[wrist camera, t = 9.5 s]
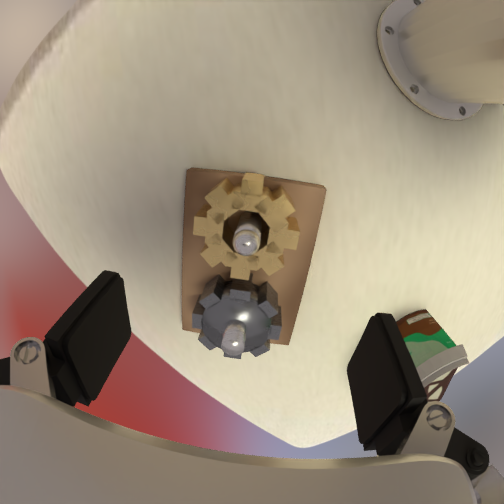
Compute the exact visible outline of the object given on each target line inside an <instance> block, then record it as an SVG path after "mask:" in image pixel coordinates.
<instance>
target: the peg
mask: <svg viewBox="0 0 504 504" xmlns="http://www.w3.org/2000/svg"><path fill="white" fill-rule="evenodd" d="M261 227H262V218H261V216H260V214H259V213H258V212H252V211H245V212H243V213H242V214H241V216H240V219H239V222H238V225H237V228H236V231H235V234H234V238H233V247H234V249H235V251H236V252H237V253H238V254H240V255H242V256H251V255H253V254H255V253H256V252H257V251H258V249H259V247H260V240H261Z"/></svg>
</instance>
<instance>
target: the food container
mask: <svg viewBox="0 0 504 504" xmlns="http://www.w3.org/2000/svg"><path fill="white" fill-rule="evenodd" d="M396 324H397V326H398V328H399V330H400V332H401V335H402V337H403V339H404V341H405V344H406V346H407V348H408V350H409V353H410V355H411V357H412V360H413V362H414V364H415V367H416V369H417V372H418V374H419V377H420V379H421V382H422V384H423V387H424V389H425V392H426V395H427V398H426V399H427V401H428V403H429V402H432V401H440V400H441V398H442V397H443V395H444V393H445V391H446V389H447V387H448V385H449V383H450V381H451V379H452V377H453V375H454V373H455V372H456V370H457V368H458V367H460V366H462V365H465V364H469V362H468V360H467V354H466V351H465V349H464V347H463V344H462V345H458V346H456V344H455V343H454V342H453V341H452V339H451V338H450V337H449V336H448V335H447V333H446V332H445V331H444V330H443V329H442V327H441V326H440V325H439V324H438V323H437V322H436V320H435V319H434V318H433V317H432V316H431V315H430V314H429V312H428V311H427V310H419V311H416V312H413V313H411V314H408V315H406V316H405V317H403V318H402V319H400V320H399V321H397V322H396Z"/></svg>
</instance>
